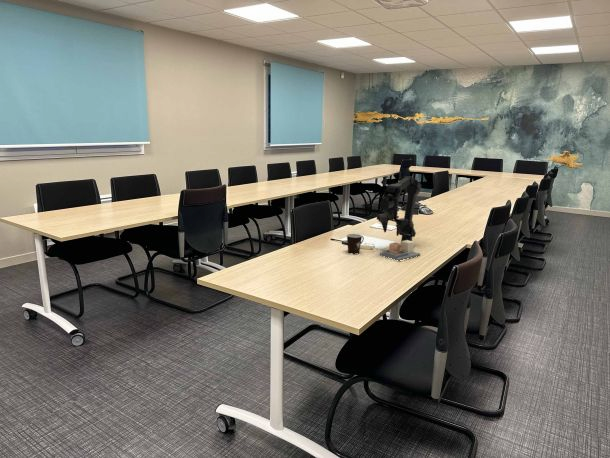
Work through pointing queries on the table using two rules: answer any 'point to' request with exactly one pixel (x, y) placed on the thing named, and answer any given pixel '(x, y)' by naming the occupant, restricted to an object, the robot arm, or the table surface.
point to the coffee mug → (354, 242)
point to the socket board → (406, 251)
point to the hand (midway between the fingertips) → (391, 233)
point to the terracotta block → (395, 248)
